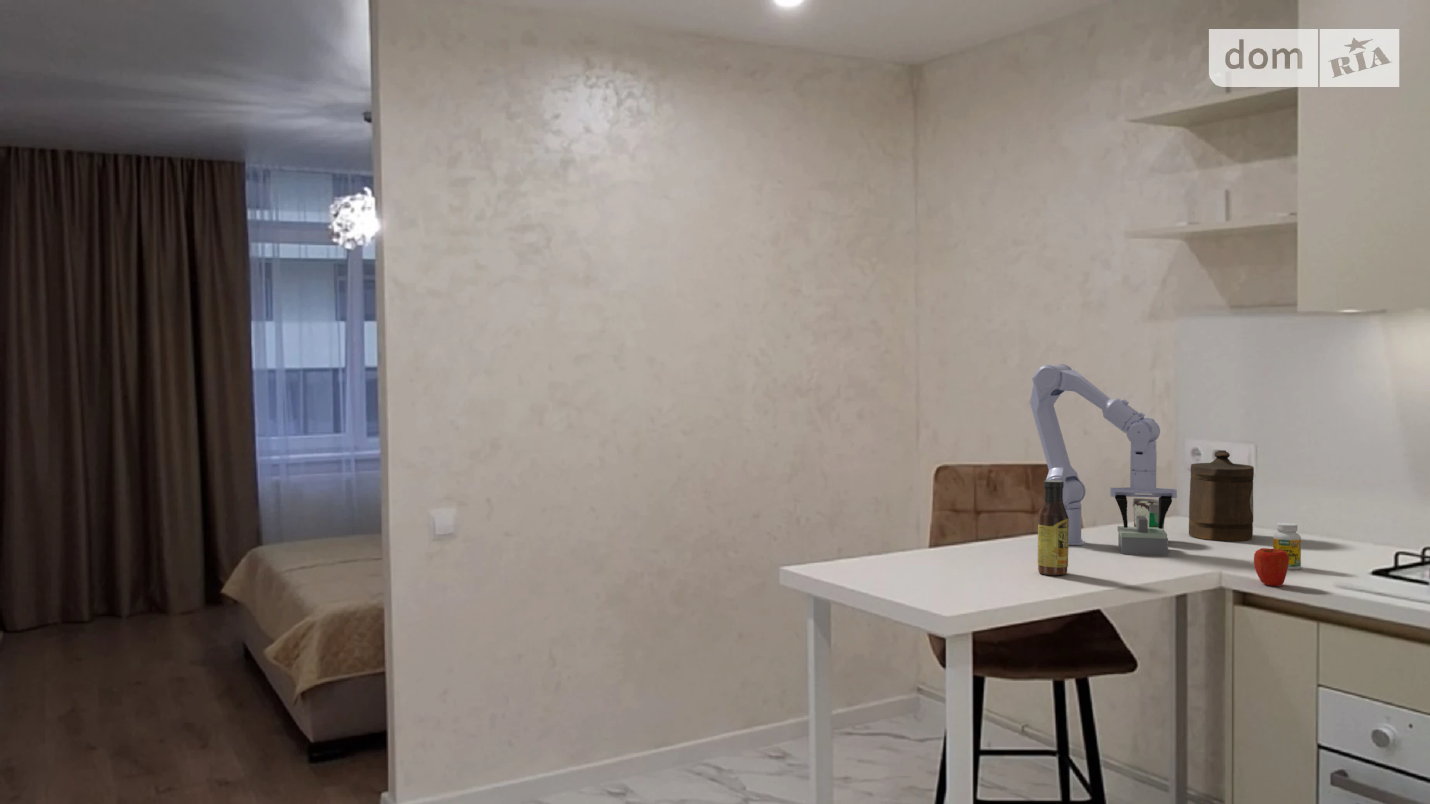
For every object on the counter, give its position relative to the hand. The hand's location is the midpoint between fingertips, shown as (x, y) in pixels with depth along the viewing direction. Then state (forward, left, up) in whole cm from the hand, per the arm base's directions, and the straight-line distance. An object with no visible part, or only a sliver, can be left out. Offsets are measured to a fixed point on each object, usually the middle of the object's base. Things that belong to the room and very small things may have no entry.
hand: (1142, 527), depth 261 cm
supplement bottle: (+28, -14, -6) cm, 32 cm away
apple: (+21, -34, -6) cm, 40 cm away
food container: (+4, +15, -6) cm, 17 cm away
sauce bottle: (-21, -32, -6) cm, 39 cm away
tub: (0, 0, -6) cm, 6 cm away
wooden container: (+21, +26, -6) cm, 34 cm away
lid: (0, 0, -2) cm, 2 cm away
